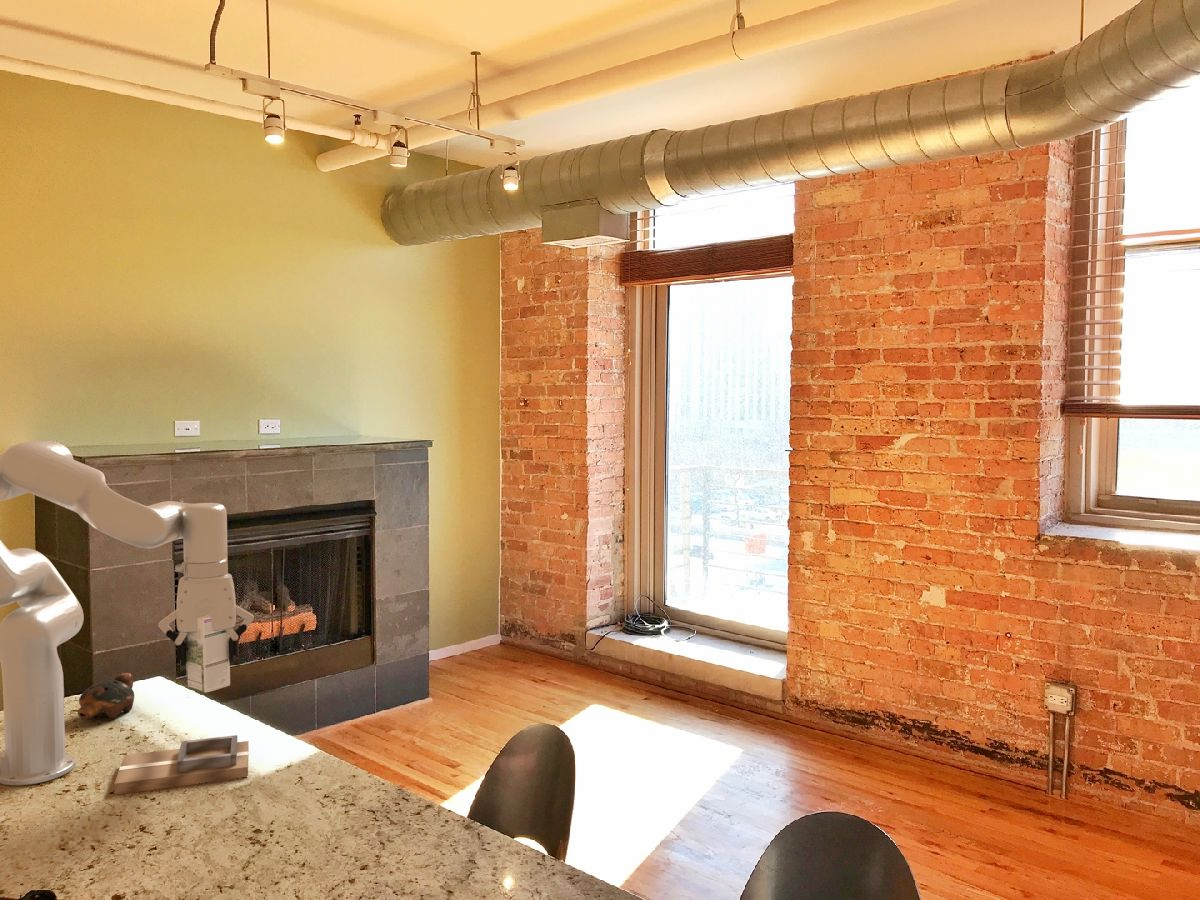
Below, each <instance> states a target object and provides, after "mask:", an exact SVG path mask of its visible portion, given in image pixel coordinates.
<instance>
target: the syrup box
mask: <svg viewBox="0 0 1200 900" xmlns="http://www.w3.org/2000/svg"><path fill="white" fill-rule="evenodd" d="M210 616H211V615H206V616H201V617H198V618H197V625H198V631H197V632H196V633H188V634H187V635H186V637H185V642H186V665H185V671H186V672H185V673H186V674H185V675H186V688H189V689H192V690H194V691H197V692H200V693H206V694H207V693H209V692H213V691H216V690H217V691H218V690H221V689H223V688H226V687H230V686H231V666H230V661H229V638H230V636H229V634H228V633H227V632H226V630H221V631H213V630H212V623H211V618H212V617H210Z"/></svg>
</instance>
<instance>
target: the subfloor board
mask: <svg viewBox="0 0 1200 900" xmlns="http://www.w3.org/2000/svg"><path fill="white" fill-rule="evenodd" d="M248 752H249V740H246V741H238V735H226V736H217V737H209V738H200V739H192V740H191V739H190V740H184V741H183V740H182V741H181V742H180V747H179V748H176V749H175V748H174V749H168V750H158V751H157V750H156V751H149V752H141V753H131V754H124V756H123V759H122V761H121V765H120V766H119V769H118V772H117V775H116V777H115V778H116V779H115V780H114V787H113V788H114V795H122V794H128V793H137V792H144V791H152V790H160V789H166V788H167V789H169V788H177V787H184V786H191V785H193V786H194V785H199V783H200V784H206V783H205V782H208V783H213V782H212V781H216V782H221V781H222V780H224V781H228V779H231V780H237V779H236V778H239V779H242V778H241V777H247V776H248V777H249V754H248ZM248 777H247V778H248ZM222 782H223V781H222Z"/></svg>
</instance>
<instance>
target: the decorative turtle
mask: <svg viewBox="0 0 1200 900" xmlns="http://www.w3.org/2000/svg"><path fill="white" fill-rule="evenodd" d="M133 687H134V677H133V675H132V673H130V672H121V673H120V674H118V675H116V677H115V678H114V679H105V680H102V681H98V682H96V683H95V684H92V685H91V686H89V687H88V688H87V689H85V691H83V692H82V693H81V695H80V697H79V699H78V704H79V706H80V708H78V710H77V716H78V717H79V718H80V719H81V720H82V721H83V720H84V721H86V720H90V719H92V718H93V717H94V718H96V717H98V716H99V715H100V714H101V713H105V714H106V715H107V717H109V718H110V719H111V720H115V719H116V718H117V717H119V715H120V714H121V713H122V712H124V713H129V712H130V711H131V710H133V707H134V702H135V691H134V689H133ZM94 718H93V719H94Z"/></svg>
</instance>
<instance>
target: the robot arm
mask: <svg viewBox="0 0 1200 900" xmlns="http://www.w3.org/2000/svg"><path fill="white" fill-rule="evenodd" d="M28 493H29V494H31V495H34V496H37V497H39V498H41V499H43V500H46V501H49V502H51V503H53V504H55V505H58V506H60V507H63V508H65V509H67V510H69V511H72V512H74V513H77V515H79V516H80V518H81V519H83V521H85V522H86V523H88V525H90V526H91V527H92V528H94V529H96V530H97V531H99V532H101V533H103V534H105V535H106V536H109V537H111V538H114V539H116V540H118V541H121V542H123V543H126V544H128V545H131V546H133V547H136V548H139V549H140V548H142V549H155V548H159V547H161V546H163V545H165V544H168V543H170V542H173V541H174V542H175V541H177V540H181V539H183V540H182V541H183V561H182V563H180V564H175V566H174V567H175V568H174V571H175V573H181V574H182V575H183V576H182V577H180V578H179V580H178V586H177V595H176V609H175V610H174V611H172V612H171V613H170V614H169V615H167V616H165V617H164V618H163V619H161V620H160V621H159V622H158V624H157V627H158V628H159V629H160V630H161V632H163V634H164V635H165V636H166V638H167V639H169V640H171V641H172V642H173V643H174V644H175V646H176V655H177V656H176V661H178V662H179V661H180V667H185V666H186V640H185V637H186V635H187V634H188V633H196V632H197V631H198V625H197V618H198V617H201V616H206V615H211V616H210V617H212V618H211V623H212V630H213V631H221V630H226V632H227V633H228V634H229V662H231V663H232V662H234V658H235V656H238V639H239V638H240V637H241V636H242V635H243V634H244V633H245V632H246V631H247V630H248V628H249V626H250V625H251V624H252V622H253V621H254V619H255V616H254V614H252V613H251V612H249V611H247V610H245V609H244V608H242V607H241V606H239V605H238V604H236V601H237V600H236V591H235V584H234V583H235V582H234V580H233V576H232V574H231V573H229V568H228V567H229V566H228V564H229V563H228V560H229V559H228V518H227V517H228V515H227V514H228V512H227V508H226V507H225V506H224V505H223V504H221V503H217V502H197V503H188V502H182V501H180V502H179V501H174V500H173V501H172V500H166V501H161V502H157V503H153V504H151V505H144V504H142V503H141V502H137V501H134V500H132V499H130V498H127V497H125V496H123V495H122V494H119V493H117V492H116V491H114V489H111V488H110V486H108V484H107V481H106V477H105V474H104V472H102V471H101V470H99V469H97V468H95V467H92V466H90V465H88V464H85V463H82V462H80V461H77V460H75V459H74V456H73V453H71V450H69V448H68V447H66V446H65V445H64V444H61V443H59V442H58V441H55V440H47V439H46V440H45V439H44V440H34V441H25V442H20V443H17V444H14V445H11V446H10V447H9V448H7V449H6V450H5V451H4V452H3V453H2V454H0V503H1V502H3V501H7V500H10V499H14V498H16V497H20V496H22V495H26V494H28ZM14 603H17V605H18V606H19V607H18V608H16V609H14V610H13V611H11V612H9V613H8V614H7V615H6V616H5V617H3V619H2V620H1V622H0V669H1V677H2V697H3V698H2V699H3V727H4V730H3V731H4V733H3V734H4V750H2V751H0V784H2V785H5V786H26V785H27V786H28V785H34V784H39V783H44V782H48V781H52V780H55V779H58V778H60V777H63V776H64V775H66V774H68V773H69V772H71V771H72V770H73V769H74V767H75V765H76V758H75V757H74V756H73V755H72V754H69V753H66V725H65V724H66V723H65V721H66V720H65V688H64V672H63V666H62V663H61V660H60V657H59V653H58V649H57V648H58V647H59V646H60V645H61V644H63V643H66V642H68V641H69V640H71V638H73V637H74V636H76V635H77V634H78V633H79V632H80V630H81V629H82V626H83V624H84V621H85V620H84V619H85V618H84V617H85V616H84V611H83V608H82V605H81V602H79V600H78V598H77V596H76V595H75V594H74V592H73V591H72V590H71V588H70V587H69V585H68V584H67V582H66V581H65V579H64V578H63V576H62V575H61V574H60V572H59V571H58V570H57V568H56V567H55V566H54V564H53V563H52V562H51V561H50V559H49V558H48V557H46V556H45V555H44V554H42V553H41V552H40V551H38V550H35V549H33V548H27V547H21V548H20V547H17V548H14V549H9V548H8V547H7V546H6V545H5V544H4V543H3V541H2V540H1V539H0V608H2V607H6V606H9V605H12V604H14ZM237 616H239V617H240V618H242V619H244V620H243V621H242V623H241V624H240V625H239V626H238V627H237V628H236V627H235V625H236V622H237ZM175 620H176V629H177V631H178V632H176V630H174V629H172V627H171V626H170V624H172V622H174V621H175Z"/></svg>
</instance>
